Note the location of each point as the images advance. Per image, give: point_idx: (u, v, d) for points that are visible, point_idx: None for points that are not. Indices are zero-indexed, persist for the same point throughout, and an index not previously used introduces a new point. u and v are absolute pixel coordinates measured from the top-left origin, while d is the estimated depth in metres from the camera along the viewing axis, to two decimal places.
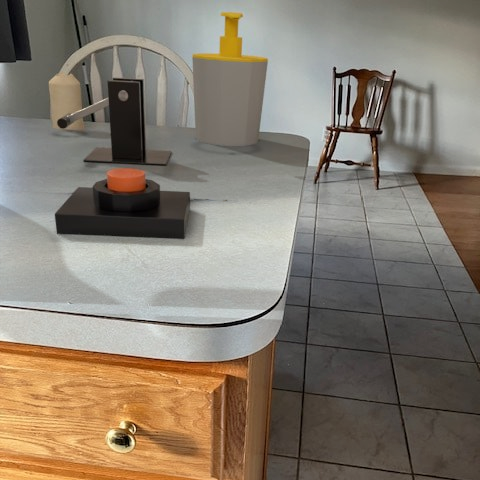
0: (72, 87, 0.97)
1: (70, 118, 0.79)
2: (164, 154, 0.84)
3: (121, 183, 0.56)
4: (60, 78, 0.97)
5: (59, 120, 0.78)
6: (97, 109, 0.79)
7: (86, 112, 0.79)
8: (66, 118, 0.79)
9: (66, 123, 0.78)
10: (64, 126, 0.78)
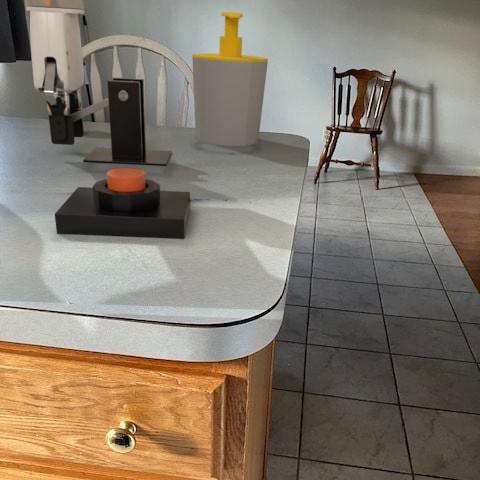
0: None
1: None
2: (164, 154, 0.84)
3: (121, 183, 0.56)
4: None
5: None
6: (97, 109, 0.79)
7: (86, 112, 0.79)
8: None
9: None
10: None
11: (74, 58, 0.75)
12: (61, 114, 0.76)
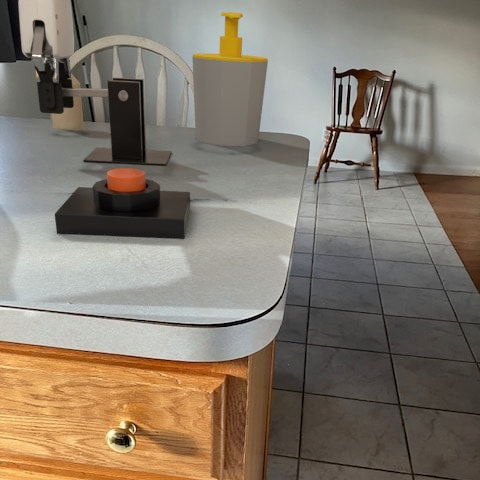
0: None
1: (62, 91, 0.78)
2: (164, 154, 0.84)
3: (121, 183, 0.56)
4: None
5: None
6: (92, 95, 0.78)
7: (80, 93, 0.78)
8: None
9: None
10: None
11: (64, 23, 0.73)
12: (50, 81, 0.74)
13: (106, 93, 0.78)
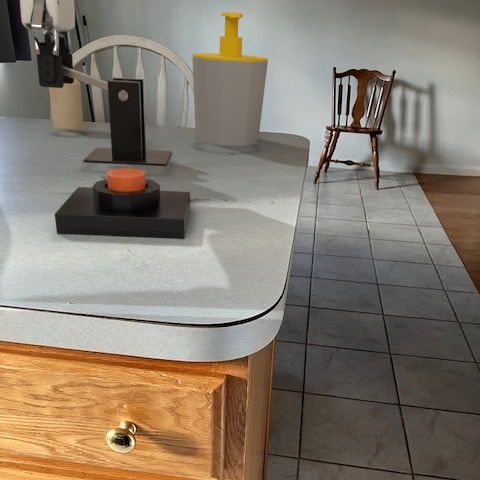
0: (72, 87, 0.97)
1: None
2: (164, 154, 0.84)
3: (121, 183, 0.56)
4: None
5: None
6: (92, 83, 0.77)
7: (80, 77, 0.77)
8: None
9: None
10: None
11: None
12: (50, 53, 0.72)
13: (106, 86, 0.78)
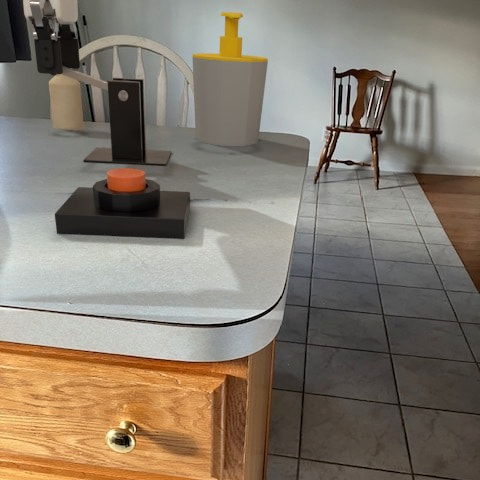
0: (72, 87, 0.97)
1: None
2: (164, 154, 0.84)
3: (121, 183, 0.56)
4: (60, 78, 0.97)
5: None
6: (92, 84, 0.77)
7: (80, 77, 0.77)
8: None
9: None
10: None
11: None
12: (48, 38, 0.70)
13: (106, 86, 0.78)
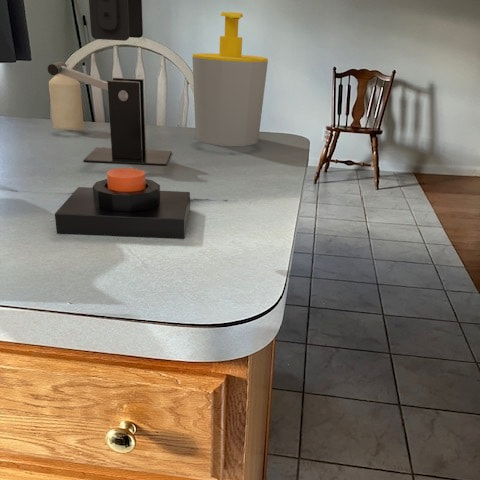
0: (72, 87, 0.97)
1: (62, 70, 0.76)
2: (164, 154, 0.84)
3: (121, 183, 0.56)
4: (60, 78, 0.97)
5: (52, 65, 0.74)
6: (92, 84, 0.77)
7: (80, 77, 0.77)
8: (59, 68, 0.75)
9: (56, 72, 0.75)
10: (52, 73, 0.75)
11: None
12: None
13: (106, 86, 0.78)
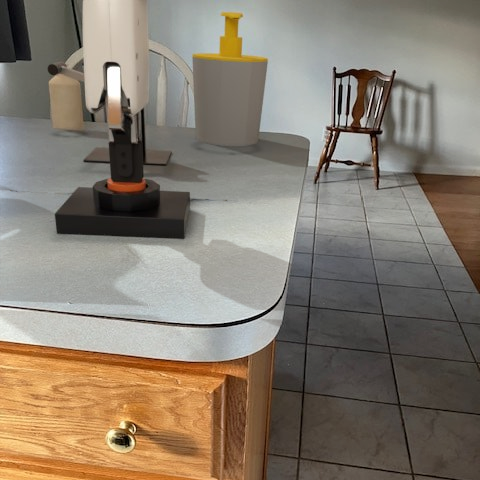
0: (72, 87, 0.97)
1: (62, 70, 0.76)
2: (164, 154, 0.84)
3: None
4: (60, 78, 0.97)
5: (52, 65, 0.74)
6: None
7: (80, 77, 0.77)
8: (59, 68, 0.75)
9: (56, 72, 0.75)
10: (52, 73, 0.75)
11: (143, 63, 0.51)
12: (127, 142, 0.54)
13: None
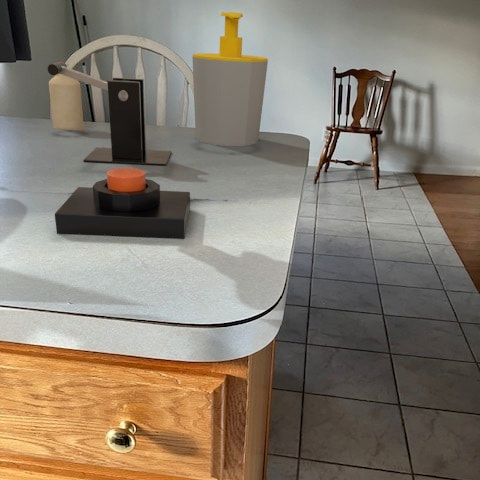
0: (72, 87, 0.97)
1: (62, 70, 0.76)
2: (164, 154, 0.84)
3: (121, 183, 0.56)
4: (60, 78, 0.97)
5: (52, 65, 0.74)
6: (92, 84, 0.77)
7: (80, 77, 0.77)
8: (59, 68, 0.75)
9: (56, 72, 0.75)
10: (52, 73, 0.75)
11: None
12: None
13: (106, 86, 0.78)
